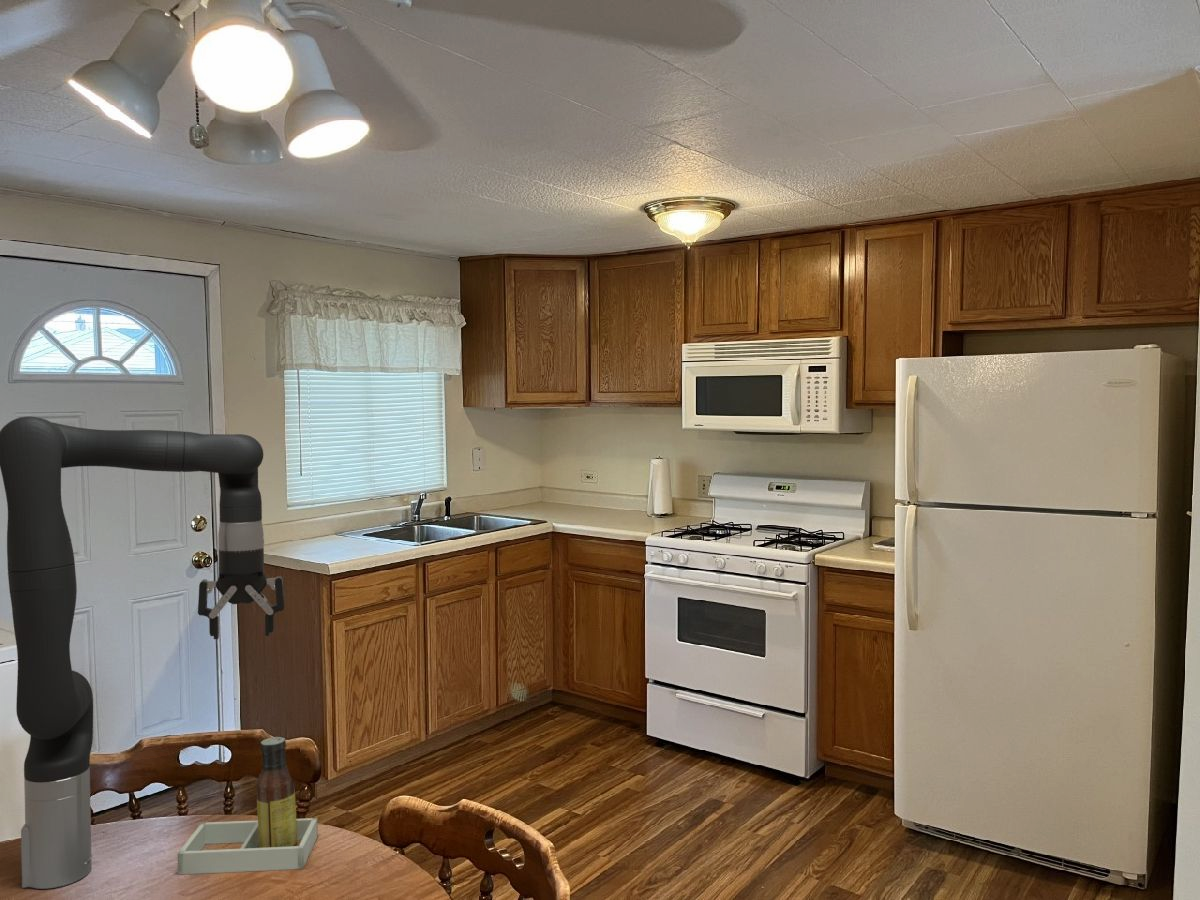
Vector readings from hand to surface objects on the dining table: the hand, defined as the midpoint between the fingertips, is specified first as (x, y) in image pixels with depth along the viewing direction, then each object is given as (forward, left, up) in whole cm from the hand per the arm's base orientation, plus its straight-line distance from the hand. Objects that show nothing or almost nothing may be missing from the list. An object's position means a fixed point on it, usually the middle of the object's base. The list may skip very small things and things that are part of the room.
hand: (242, 636), depth 162 cm
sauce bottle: (+6, -9, -36) cm, 38 cm away
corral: (+2, -8, -36) cm, 37 cm away
